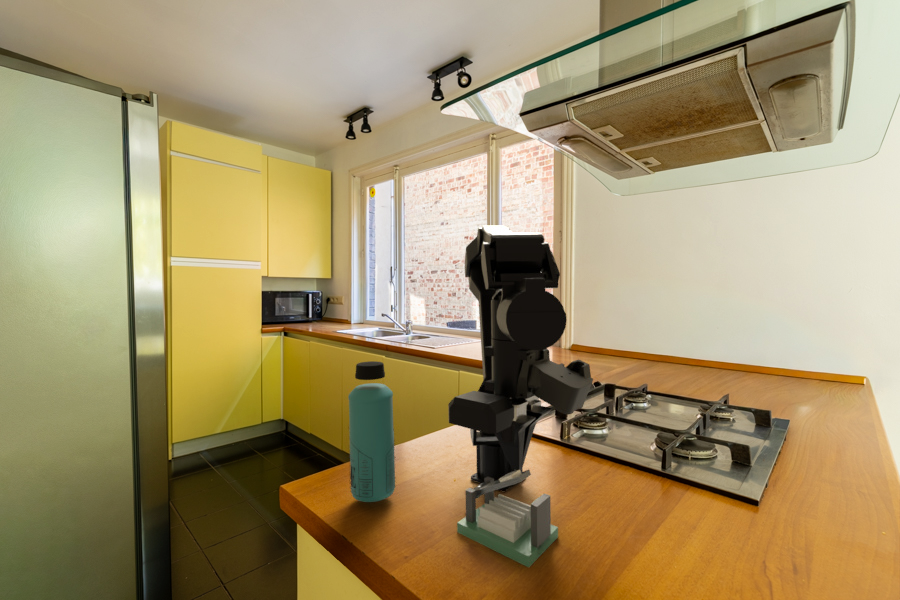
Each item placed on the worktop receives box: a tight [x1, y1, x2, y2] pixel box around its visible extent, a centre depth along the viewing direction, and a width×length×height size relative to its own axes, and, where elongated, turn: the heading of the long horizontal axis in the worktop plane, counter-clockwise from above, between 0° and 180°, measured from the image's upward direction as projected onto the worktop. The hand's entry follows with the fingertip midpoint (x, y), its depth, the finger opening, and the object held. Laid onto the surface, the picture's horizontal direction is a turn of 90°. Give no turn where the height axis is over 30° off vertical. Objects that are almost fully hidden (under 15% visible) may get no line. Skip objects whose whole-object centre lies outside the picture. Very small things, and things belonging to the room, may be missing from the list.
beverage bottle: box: [347, 361, 397, 503], centre depth 57 cm, size 6×7×20 cm
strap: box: [473, 469, 532, 500], centre depth 49 cm, size 8×2×1 cm
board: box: [456, 477, 559, 568], centre depth 49 cm, size 10×7×6 cm
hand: (516, 468), depth 48 cm, fingers closed
